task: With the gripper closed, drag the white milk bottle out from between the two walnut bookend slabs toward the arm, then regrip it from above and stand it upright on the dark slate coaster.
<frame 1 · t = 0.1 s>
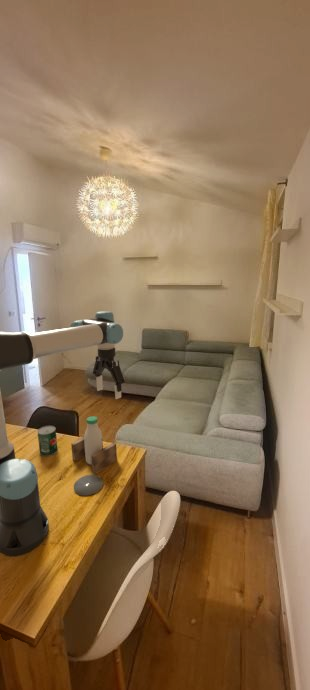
hand: (108, 393, 132), 28 cm above the table, fingers open, 13 cm apart
bookends: (94, 459, 130), on the table
coaster: (88, 485, 115), on the table
canned tomato: (48, 451, 137), on the table
milk bottle: (94, 460, 131), on the table
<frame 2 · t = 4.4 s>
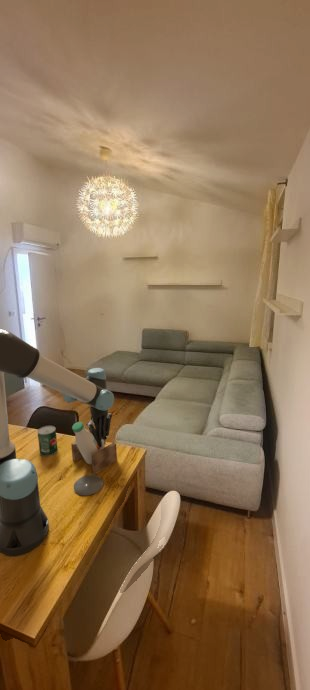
hand: (101, 452, 133), 2 cm above the table, fingers closed
milk bottle: (94, 457, 130), point 1 cm above the table, touching gripper, hand
everything else where it was.
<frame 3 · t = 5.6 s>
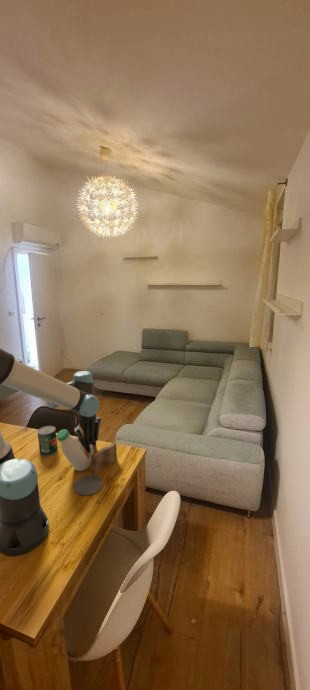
hand: (90, 457, 128), 2 cm above the table, fingers closed
milk bottle: (83, 463, 126), point 2 cm above the table, touching gripper
everything else where it was.
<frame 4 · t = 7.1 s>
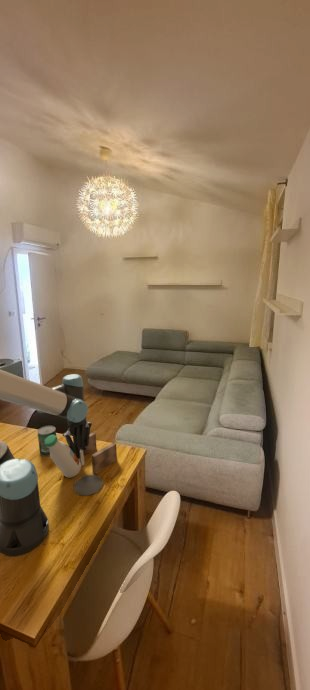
hand: (81, 463, 125), 2 cm above the table, fingers closed
milk bottle: (73, 469, 122), point 1 cm above the table, touching gripper
everything else where it was.
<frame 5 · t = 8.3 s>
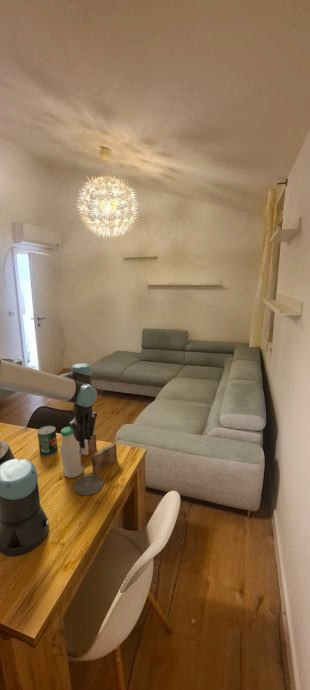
hand: (85, 453, 126), 6 cm above the table, fingers closed
milk bottle: (74, 472, 122), on the table
everything else where it was.
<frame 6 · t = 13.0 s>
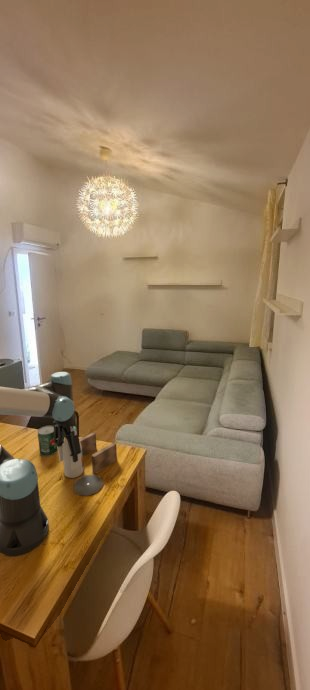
hand: (68, 463, 120), 5 cm above the table, fingers closed on milk bottle, 7 cm apart
milk bottle: (74, 472, 122), on the table, touching gripper
everything else where it was.
when the fingers open (7 cm above the table, at t = 17.7 s): milk bottle stays where it is, resting on coaster.
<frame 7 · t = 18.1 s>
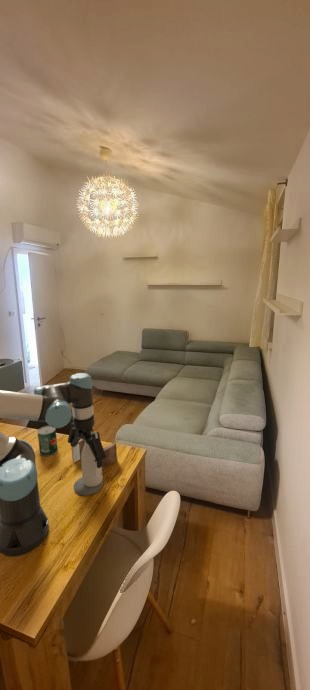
hand: (87, 467, 113), 8 cm above the table, fingers open, 12 cm apart
milk bottle: (92, 481, 116), resting on coaster
everything else where it was.
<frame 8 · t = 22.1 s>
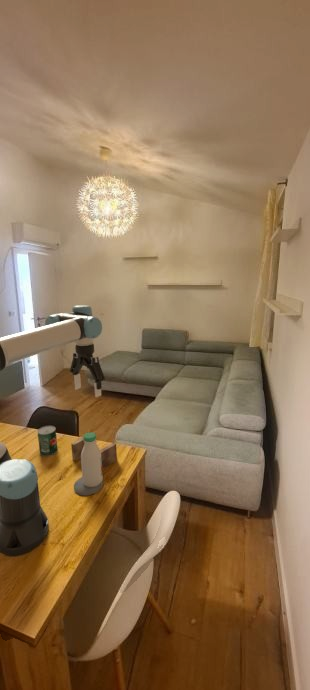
hand: (87, 392, 126), 31 cm above the table, fingers open, 13 cm apart
nothing on the table moved.
at the end: milk bottle inside the target area on the coaster (2.1 cm from its centre), point 0.4 cm above the coaster's base; milk bottle tilted 0°; the gripper is holding nothing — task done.
